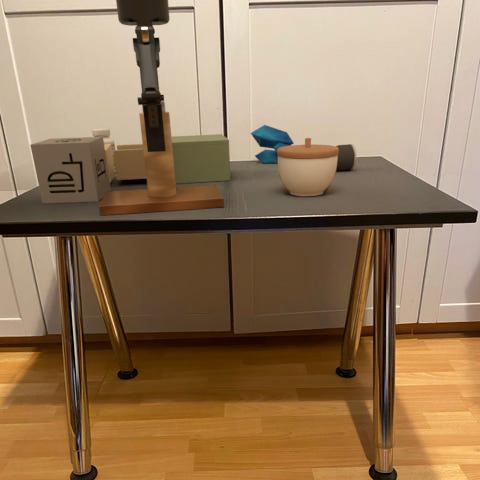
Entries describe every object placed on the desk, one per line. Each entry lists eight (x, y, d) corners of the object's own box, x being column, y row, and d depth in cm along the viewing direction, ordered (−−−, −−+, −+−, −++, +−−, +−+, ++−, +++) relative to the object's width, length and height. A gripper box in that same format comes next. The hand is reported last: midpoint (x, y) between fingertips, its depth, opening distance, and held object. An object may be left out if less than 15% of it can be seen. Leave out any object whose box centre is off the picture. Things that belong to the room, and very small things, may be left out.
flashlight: (288, 176, 103) (289, 149, 101) (281, 172, 108) (281, 147, 106) (355, 171, 106) (357, 145, 104) (345, 167, 111) (347, 142, 108)
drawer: (82, 184, 97) (77, 151, 95) (89, 175, 107) (84, 145, 105) (171, 179, 100) (168, 147, 97) (170, 170, 110) (167, 141, 107)
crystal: (298, 134, 114) (250, 123, 115) (290, 171, 118) (242, 160, 119) (300, 131, 121) (254, 121, 121) (291, 166, 125) (247, 156, 125)
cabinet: (160, 184, 99) (156, 143, 96) (160, 174, 110) (156, 137, 107) (230, 180, 101) (229, 139, 97) (223, 171, 112) (221, 134, 109)
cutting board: (100, 215, 77) (98, 206, 76) (107, 199, 88) (106, 191, 87) (224, 207, 79) (223, 198, 79) (216, 192, 90) (215, 184, 89)
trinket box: (278, 200, 83) (279, 142, 79) (275, 188, 92) (275, 136, 88) (341, 198, 83) (344, 140, 78) (331, 186, 92) (333, 134, 88)
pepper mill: (148, 198, 80) (137, 102, 74) (148, 192, 85) (138, 101, 78) (177, 196, 81) (168, 101, 74) (176, 191, 85) (168, 100, 79)
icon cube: (98, 201, 86) (88, 142, 82) (42, 203, 86) (30, 144, 82) (110, 190, 95) (102, 136, 91) (60, 192, 95) (50, 138, 91)
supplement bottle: (96, 171, 118) (89, 128, 113) (118, 170, 118) (113, 127, 114) (94, 175, 113) (87, 130, 108) (117, 173, 114) (111, 129, 109)
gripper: (169, -26, 59) (183, 154, 69) (166, 4, 81) (176, 138, 91) (107, -26, 58) (129, 157, 68) (121, 5, 80) (136, 139, 90)
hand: (156, 146), depth 79 cm, fingers open, 13 cm apart
